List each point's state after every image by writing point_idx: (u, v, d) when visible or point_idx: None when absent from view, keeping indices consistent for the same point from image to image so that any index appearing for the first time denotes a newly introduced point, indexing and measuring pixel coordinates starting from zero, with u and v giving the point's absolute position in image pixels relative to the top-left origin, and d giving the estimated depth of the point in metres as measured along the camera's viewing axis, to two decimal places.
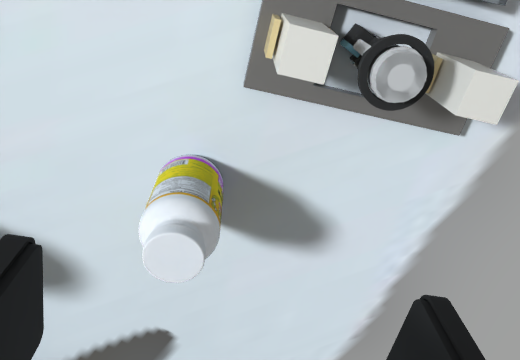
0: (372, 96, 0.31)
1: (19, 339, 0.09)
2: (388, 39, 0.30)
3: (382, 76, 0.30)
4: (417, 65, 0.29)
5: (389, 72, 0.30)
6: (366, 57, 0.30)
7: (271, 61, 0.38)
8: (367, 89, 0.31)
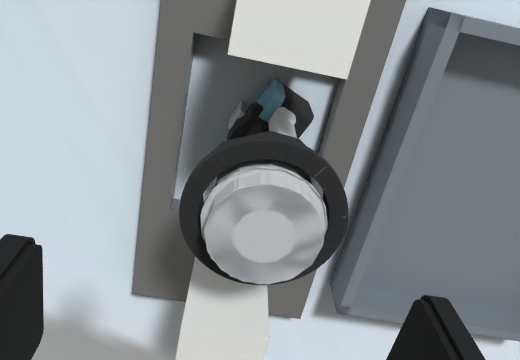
0: (209, 177, 0.13)
1: (19, 339, 0.09)
2: (340, 192, 0.13)
3: (266, 198, 0.12)
4: (291, 263, 0.13)
5: (276, 212, 0.12)
6: (302, 151, 0.13)
7: None
8: (226, 164, 0.13)
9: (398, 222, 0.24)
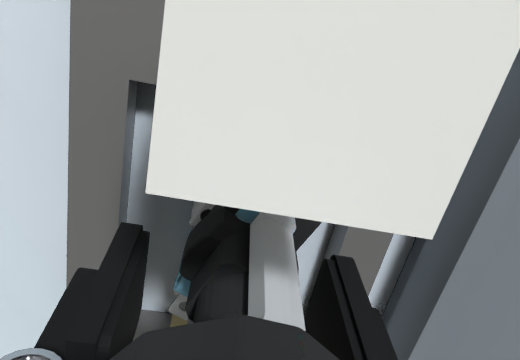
0: None
1: (134, 314, 0.11)
2: None
3: None
4: None
5: None
6: None
7: None
8: None
9: (442, 334, 0.17)
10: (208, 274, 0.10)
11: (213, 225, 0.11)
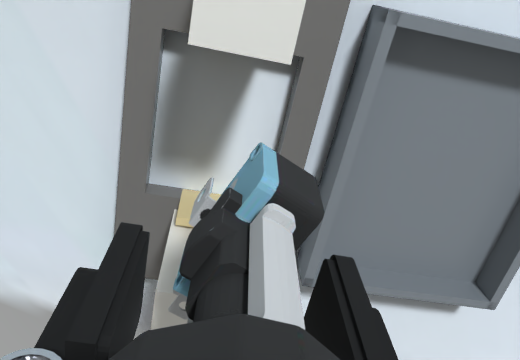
0: None
1: (134, 314, 0.11)
2: None
3: None
4: None
5: None
6: None
7: None
8: None
9: (355, 200, 0.26)
10: (208, 274, 0.10)
11: (213, 225, 0.11)
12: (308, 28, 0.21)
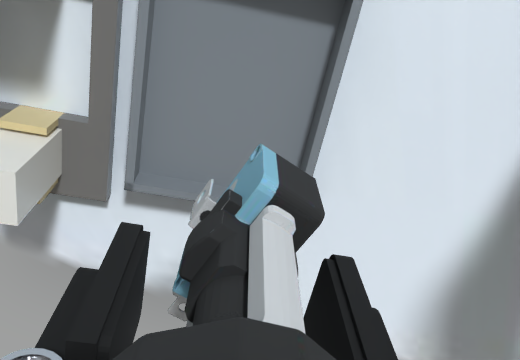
0: None
1: (134, 314, 0.11)
2: None
3: None
4: None
5: None
6: None
7: None
8: None
9: (168, 116, 0.31)
10: (207, 276, 0.10)
11: (212, 226, 0.11)
12: None
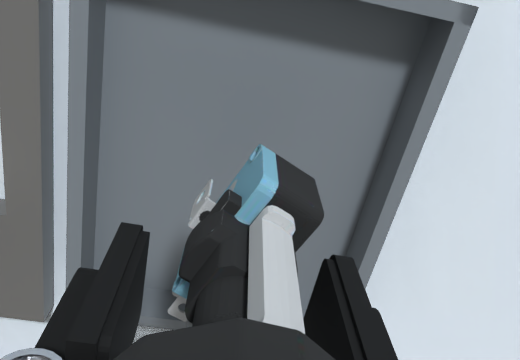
0: None
1: (134, 314, 0.11)
2: None
3: None
4: None
5: None
6: None
7: None
8: None
9: (134, 202, 0.19)
10: (207, 277, 0.10)
11: (212, 227, 0.11)
12: None
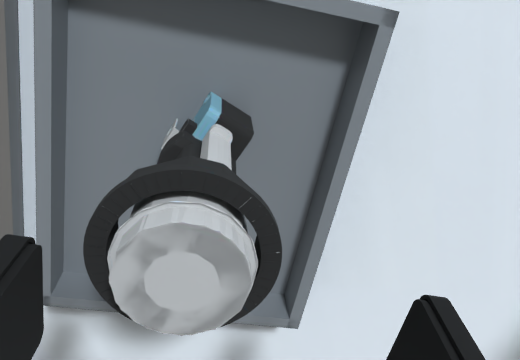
0: (115, 214, 0.11)
1: (19, 339, 0.09)
2: (271, 224, 0.12)
3: (179, 239, 0.10)
4: (216, 310, 0.11)
5: (193, 253, 0.11)
6: (222, 180, 0.11)
7: None
8: (133, 198, 0.11)
9: (101, 195, 0.21)
10: None
11: (177, 139, 0.16)
12: None
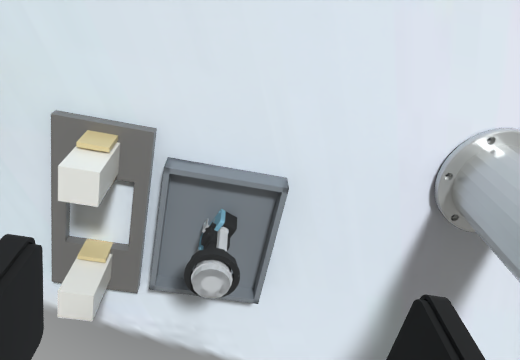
0: (193, 265, 0.41)
1: (19, 339, 0.09)
2: (236, 268, 0.41)
3: (211, 273, 0.40)
4: (220, 291, 0.41)
5: (214, 276, 0.40)
6: (222, 256, 0.40)
7: (79, 136, 0.43)
8: (198, 261, 0.40)
9: (176, 245, 0.50)
10: (207, 243, 0.45)
11: (208, 232, 0.46)
12: (134, 170, 0.45)
